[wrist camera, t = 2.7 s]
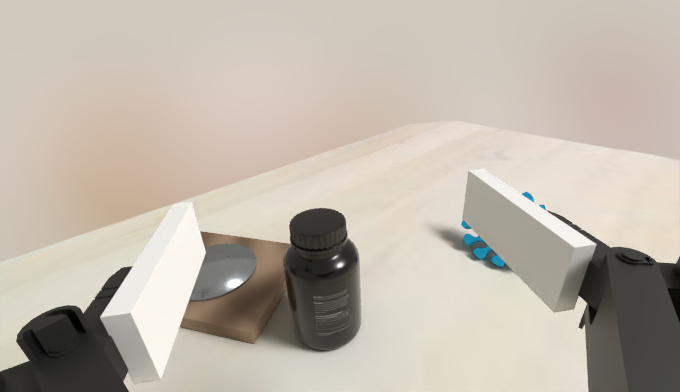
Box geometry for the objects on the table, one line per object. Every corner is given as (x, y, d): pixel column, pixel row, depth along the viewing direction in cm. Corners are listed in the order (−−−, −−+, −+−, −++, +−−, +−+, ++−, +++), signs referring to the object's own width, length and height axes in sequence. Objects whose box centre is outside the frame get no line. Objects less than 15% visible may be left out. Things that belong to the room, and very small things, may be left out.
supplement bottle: (368, 305, 35) (367, 206, 30) (351, 361, 29) (346, 250, 24) (308, 293, 37) (297, 198, 32) (281, 344, 31) (262, 238, 26)
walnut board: (107, 309, 36) (101, 297, 35) (191, 238, 48) (188, 228, 47) (253, 343, 31) (250, 330, 30) (307, 255, 43) (306, 244, 42)
